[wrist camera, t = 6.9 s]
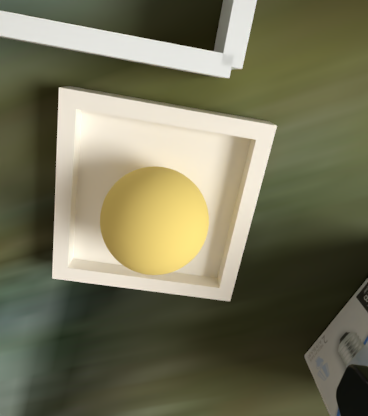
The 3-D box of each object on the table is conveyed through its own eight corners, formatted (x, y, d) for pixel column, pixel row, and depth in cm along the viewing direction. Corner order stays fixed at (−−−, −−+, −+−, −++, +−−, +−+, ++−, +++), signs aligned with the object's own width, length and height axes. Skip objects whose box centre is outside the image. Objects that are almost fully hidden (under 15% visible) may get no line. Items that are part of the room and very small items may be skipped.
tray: (268, 121, 17) (276, 125, 16) (226, 285, 21) (230, 301, 19) (69, 86, 16) (58, 87, 15) (61, 263, 20) (52, 278, 19)
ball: (211, 163, 17) (227, 196, 13) (194, 248, 19) (202, 304, 15) (114, 147, 17) (94, 176, 12) (105, 236, 19) (85, 290, 14)
